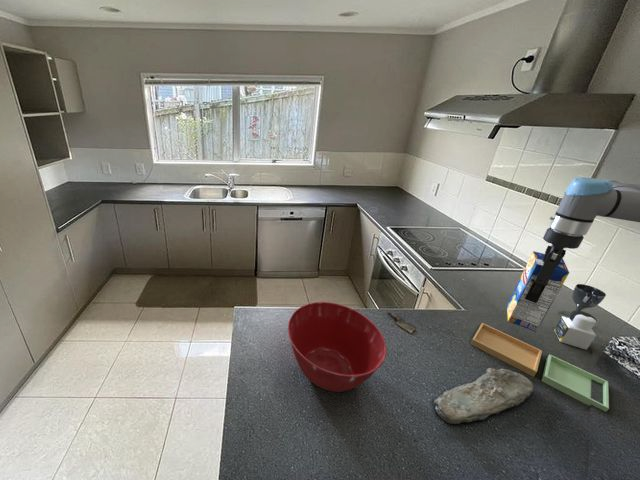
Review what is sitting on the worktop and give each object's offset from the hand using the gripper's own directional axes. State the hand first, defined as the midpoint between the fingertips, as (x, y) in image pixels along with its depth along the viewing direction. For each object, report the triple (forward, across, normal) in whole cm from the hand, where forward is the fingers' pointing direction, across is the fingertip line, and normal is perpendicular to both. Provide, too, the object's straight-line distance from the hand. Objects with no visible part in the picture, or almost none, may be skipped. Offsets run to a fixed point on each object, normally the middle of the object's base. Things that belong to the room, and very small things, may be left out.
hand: (533, 293), depth 89 cm
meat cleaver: (+25, +16, -30) cm, 42 cm away
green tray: (+24, 0, +17) cm, 30 cm away
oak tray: (+25, 0, 0) cm, 25 cm away
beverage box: (+10, 0, 0) cm, 10 cm away
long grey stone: (+25, +29, 0) cm, 38 cm away
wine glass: (+25, -43, +15) cm, 52 cm away
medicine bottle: (+25, -26, +15) cm, 39 cm away
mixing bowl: (+25, +56, -35) cm, 70 cm away
